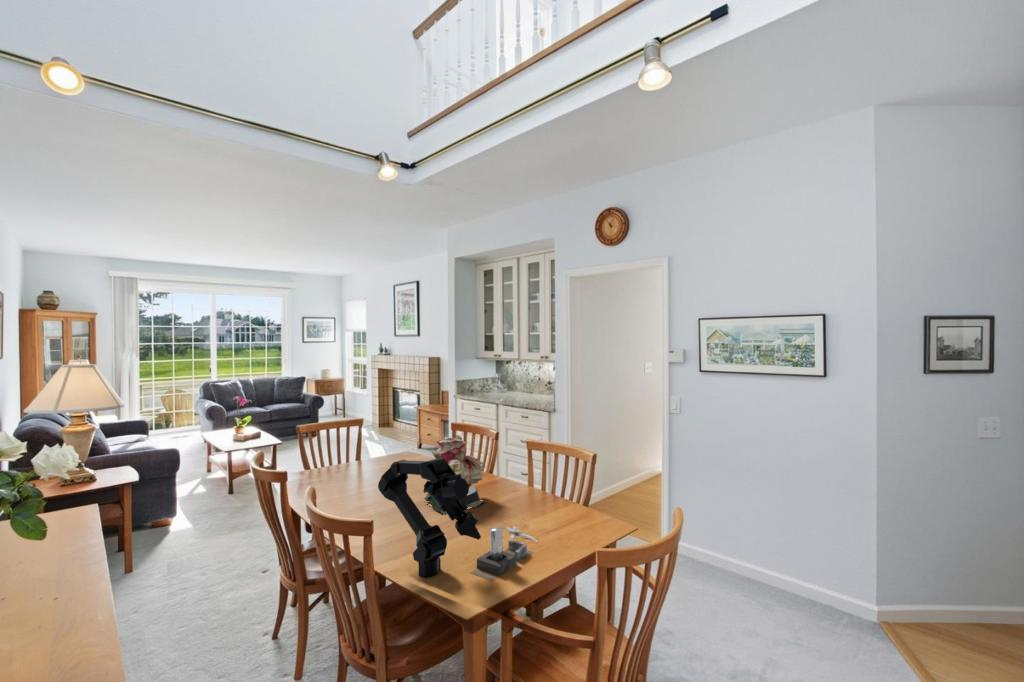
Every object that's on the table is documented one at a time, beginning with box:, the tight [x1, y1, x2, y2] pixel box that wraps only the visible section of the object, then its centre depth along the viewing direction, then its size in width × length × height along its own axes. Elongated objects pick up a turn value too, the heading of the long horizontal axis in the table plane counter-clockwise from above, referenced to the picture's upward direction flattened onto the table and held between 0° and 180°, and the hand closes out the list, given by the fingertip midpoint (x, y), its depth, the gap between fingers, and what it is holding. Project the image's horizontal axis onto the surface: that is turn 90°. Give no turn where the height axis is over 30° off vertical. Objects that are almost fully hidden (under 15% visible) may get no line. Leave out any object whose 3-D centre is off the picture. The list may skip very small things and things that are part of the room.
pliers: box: [505, 525, 538, 544], centre depth 176 cm, size 10×2×15 cm
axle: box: [489, 526, 504, 562], centre depth 150 cm, size 4×4×12 cm
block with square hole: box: [469, 538, 535, 582], centre depth 153 cm, size 23×9×4 cm, turn 145°
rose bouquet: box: [423, 434, 486, 515], centre depth 214 cm, size 26×29×30 cm
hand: (475, 531), depth 148 cm, fingers open, 9 cm apart
